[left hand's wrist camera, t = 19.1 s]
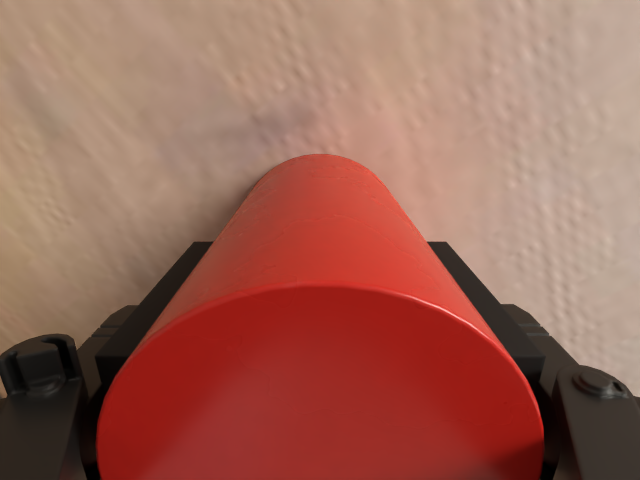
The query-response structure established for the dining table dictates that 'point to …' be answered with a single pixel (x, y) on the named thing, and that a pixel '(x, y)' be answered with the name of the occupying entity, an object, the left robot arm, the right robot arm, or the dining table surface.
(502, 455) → the cylinder
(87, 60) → the dining table surface
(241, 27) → the dining table surface
